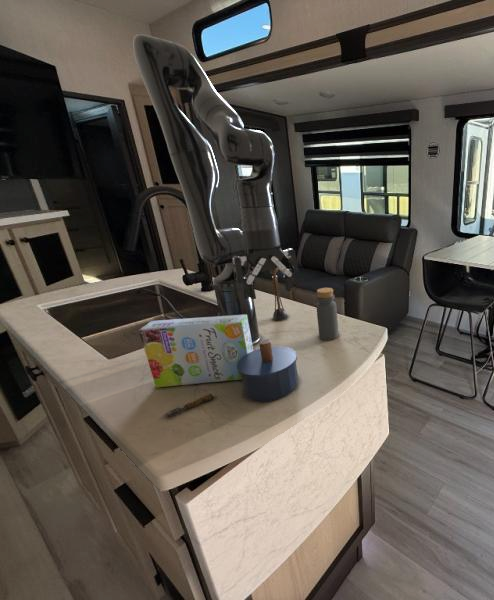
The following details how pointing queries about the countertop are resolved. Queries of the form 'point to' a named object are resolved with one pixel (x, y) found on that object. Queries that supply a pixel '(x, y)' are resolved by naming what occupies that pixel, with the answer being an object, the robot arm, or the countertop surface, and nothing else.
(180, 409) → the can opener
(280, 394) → the blue round container
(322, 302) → the bottle
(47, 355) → the countertop surface
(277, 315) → the wooden tabletop sculpture
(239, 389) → the countertop surface
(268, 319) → the countertop surface
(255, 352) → the lid
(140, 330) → the snack box
